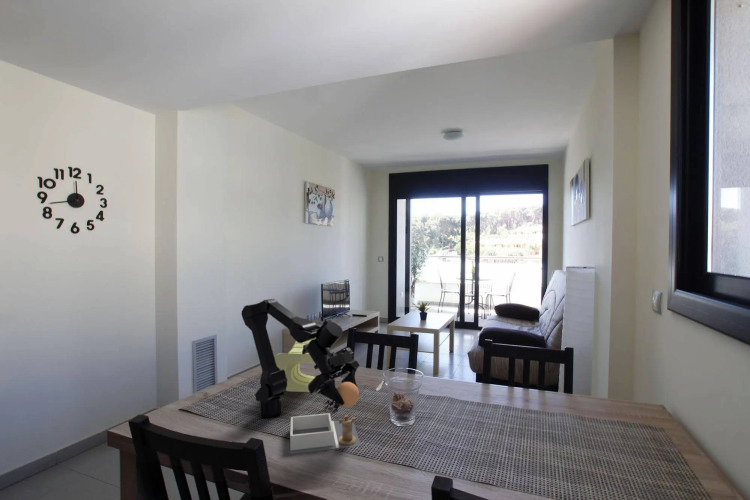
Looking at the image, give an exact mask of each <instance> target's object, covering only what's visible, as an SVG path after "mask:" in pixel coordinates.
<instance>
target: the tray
mask: <svg viewBox="0 0 750 500" xmlns="http://www.w3.org/2000/svg"><path fill="white" fill-rule="evenodd" d="M332 421H333V420H332V416H331V412H327V413H320V414H319V413H318V414H307V415H298V416H297V415H295V416H290V431H289V434H290V437H289V439H290V441H289V442H290V444H289V447H290V448H289V451H290V450H297V449H306V448H315V447H324V446H333V445H334V431H333V426H332ZM321 427H328V428H329V431H325V432H315V433H306V434H296V435H293V430H301V429H311V428H321Z"/></svg>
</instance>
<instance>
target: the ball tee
mask: <svg viewBox="0 0 750 500" xmlns="http://www.w3.org/2000/svg"><path fill="white" fill-rule="evenodd" d="M351 419H352V421H351V420H349V414H345V415H344V418H339V419H338V421H339V424H341V423H342V436H341V437H340V438H339V443H340V444H342V445H352V444H354V443H355V442H356V437H355V436H353V435H352V422H353V423H356V416H355V417H354V416H353V417H351ZM343 420H344V421H343Z"/></svg>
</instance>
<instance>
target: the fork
mask: <svg viewBox="0 0 750 500" xmlns="http://www.w3.org/2000/svg"><path fill="white" fill-rule="evenodd" d="M384 382H385V381H383V380H382V381H381V383H379V385H378V386H377V387H376V389H375V390H376V391H380V390H381V388H382V386H383V385H384Z"/></svg>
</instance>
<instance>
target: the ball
mask: <svg viewBox="0 0 750 500" xmlns="http://www.w3.org/2000/svg"><path fill="white" fill-rule="evenodd" d="M356 385H357V384H356ZM356 385H355V384H353V383H351V382H344V383H342V382H341V383H340V384H339V385H338V386H337V387H336V389H337V390H338V392H339V394H340V395H341V397H342V399H343V401H344V405H340V404H339V405H340V406H341V407H343V408H350V407H353V406H354V405H355V404H356V403H357V402H358V401H359V396H360V391H359V388H358V386H357V387H356Z"/></svg>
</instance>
